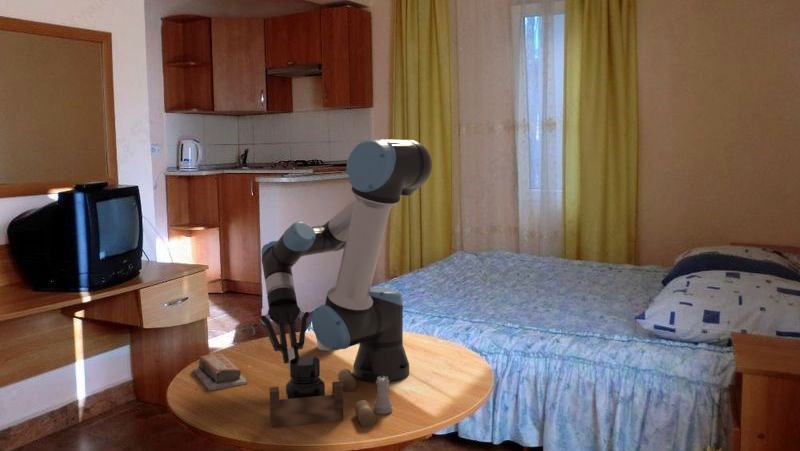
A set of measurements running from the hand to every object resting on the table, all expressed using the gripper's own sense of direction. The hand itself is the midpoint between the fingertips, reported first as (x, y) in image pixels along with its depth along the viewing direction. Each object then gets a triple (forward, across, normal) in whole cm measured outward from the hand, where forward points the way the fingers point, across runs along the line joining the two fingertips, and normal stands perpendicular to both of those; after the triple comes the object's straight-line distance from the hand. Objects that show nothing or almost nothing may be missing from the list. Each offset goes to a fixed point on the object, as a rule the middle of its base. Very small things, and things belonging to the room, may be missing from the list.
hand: (293, 373), depth 168 cm
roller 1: (+3, -14, -4) cm, 15 cm away
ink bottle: (+12, -1, +5) cm, 13 cm away
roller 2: (+19, -12, +12) cm, 26 cm away
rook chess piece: (+17, -17, +9) cm, 26 cm away
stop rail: (+16, 0, +9) cm, 19 cm away
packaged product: (-9, +16, -18) cm, 26 cm away
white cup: (-21, -17, -29) cm, 39 cm away
